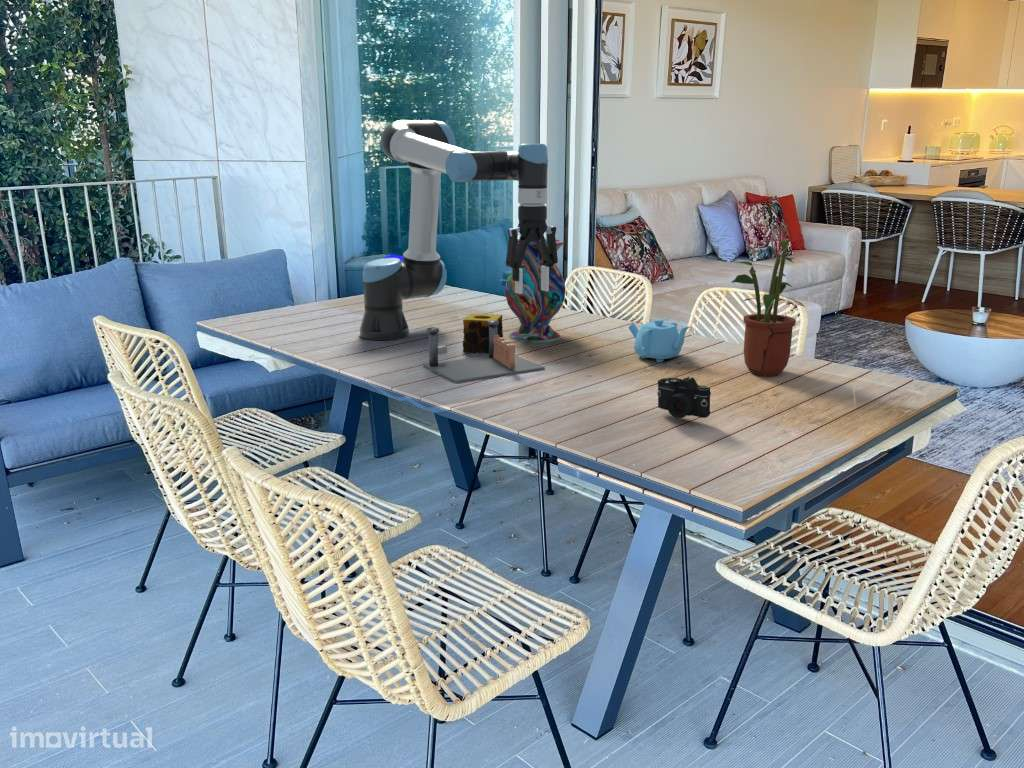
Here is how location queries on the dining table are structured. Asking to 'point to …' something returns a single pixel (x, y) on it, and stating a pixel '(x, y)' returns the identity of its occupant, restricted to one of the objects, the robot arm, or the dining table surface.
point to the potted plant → (767, 324)
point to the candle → (479, 332)
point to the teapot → (658, 340)
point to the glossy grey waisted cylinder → (492, 335)
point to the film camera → (684, 397)
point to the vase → (535, 298)
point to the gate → (504, 352)
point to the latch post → (434, 347)
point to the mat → (480, 368)
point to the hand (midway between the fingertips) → (531, 291)
